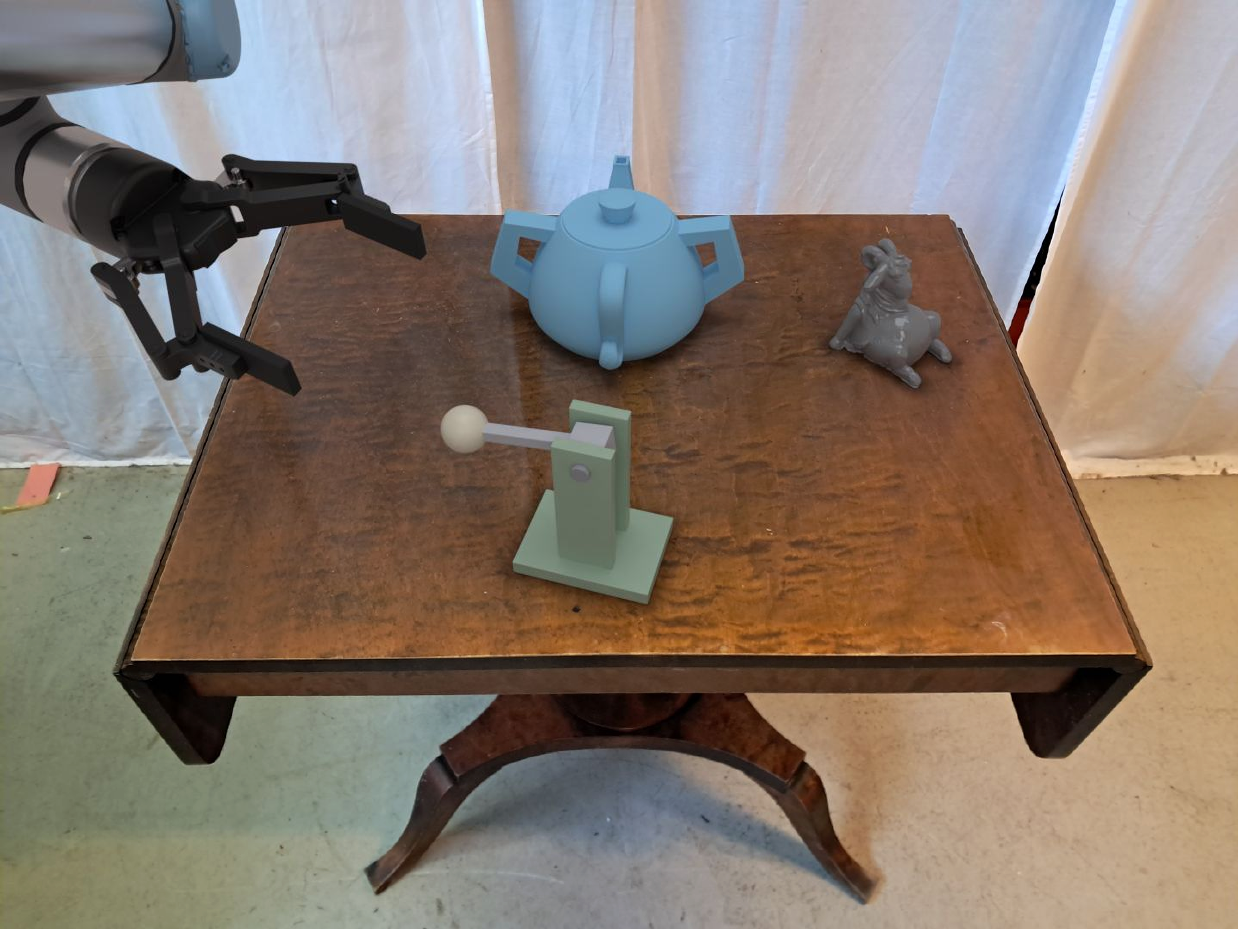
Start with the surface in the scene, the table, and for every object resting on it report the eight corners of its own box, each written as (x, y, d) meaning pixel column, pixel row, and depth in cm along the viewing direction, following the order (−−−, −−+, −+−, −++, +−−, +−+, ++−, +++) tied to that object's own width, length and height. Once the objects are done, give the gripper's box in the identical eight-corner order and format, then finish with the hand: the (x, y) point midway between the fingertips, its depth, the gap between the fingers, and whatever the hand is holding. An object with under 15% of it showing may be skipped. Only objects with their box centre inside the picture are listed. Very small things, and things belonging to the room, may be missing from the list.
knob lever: (439, 459, 71) (427, 424, 68) (458, 427, 73) (447, 392, 71) (606, 484, 67) (600, 448, 65) (620, 449, 70) (615, 413, 67)
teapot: (744, 323, 96) (758, 202, 86) (599, 407, 88) (595, 285, 78) (623, 241, 106) (622, 125, 96) (481, 310, 98) (465, 190, 88)
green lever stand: (513, 572, 75) (497, 451, 65) (547, 498, 80) (537, 376, 70) (647, 605, 73) (652, 485, 63) (672, 527, 78) (681, 406, 68)
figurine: (910, 394, 89) (939, 303, 81) (825, 344, 94) (844, 254, 86) (959, 354, 93) (991, 263, 85) (874, 308, 98) (897, 218, 90)
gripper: (250, 143, 76) (472, 233, 70) (4, 352, 64) (249, 480, 58) (219, 58, 70) (459, 149, 64) (-62, 271, 57) (207, 407, 52)
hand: (360, 307), depth 61 cm, fingers open, 13 cm apart
